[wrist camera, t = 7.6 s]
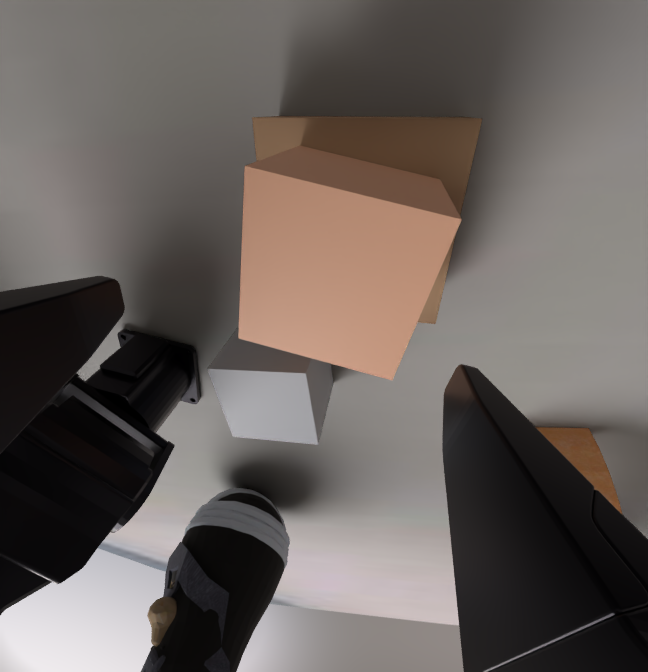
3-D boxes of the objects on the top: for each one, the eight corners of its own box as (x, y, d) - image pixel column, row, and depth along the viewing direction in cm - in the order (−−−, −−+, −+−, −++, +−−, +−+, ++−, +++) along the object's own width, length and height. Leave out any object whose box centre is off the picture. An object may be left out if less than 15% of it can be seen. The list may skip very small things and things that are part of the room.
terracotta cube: (394, 302, 17) (392, 380, 12) (283, 273, 17) (238, 338, 12) (440, 179, 14) (462, 219, 9) (299, 145, 14) (244, 165, 9)
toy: (233, 451, 34) (81, 763, 18) (319, 498, 36) (252, 817, 20) (199, 489, 40) (62, 748, 24) (274, 528, 42) (194, 791, 26)
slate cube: (333, 382, 26) (318, 444, 21) (262, 378, 27) (233, 436, 23) (326, 317, 23) (305, 373, 18) (246, 316, 24) (206, 368, 19)
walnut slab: (430, 290, 21) (435, 323, 17) (291, 278, 22) (271, 307, 19) (465, 116, 15) (482, 118, 12) (281, 115, 17) (252, 117, 14)
